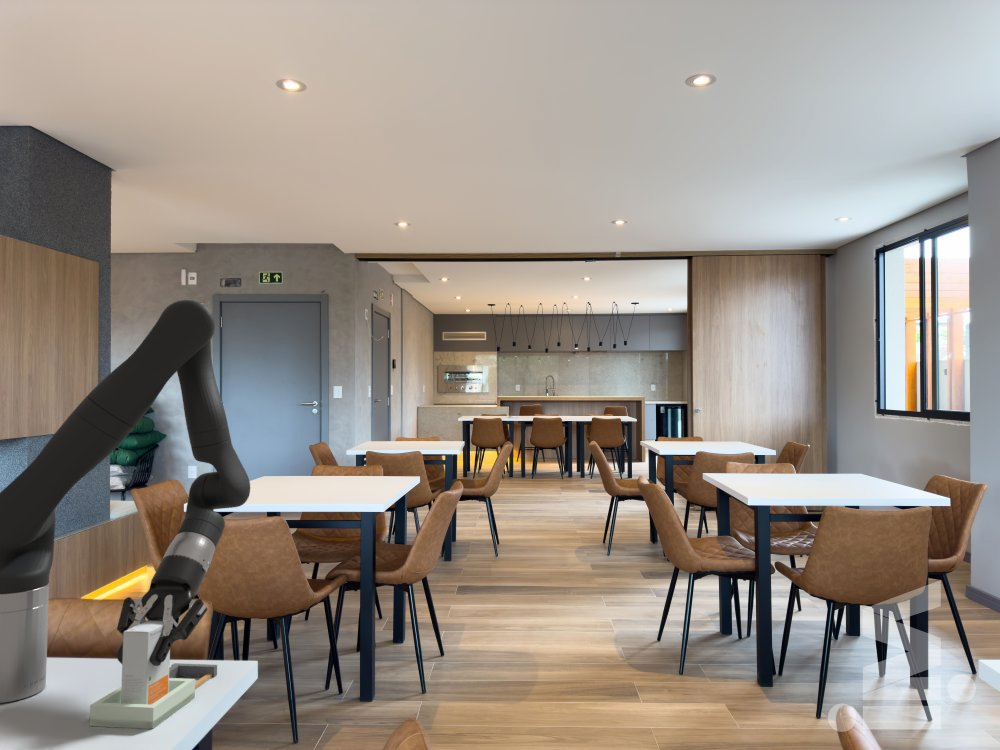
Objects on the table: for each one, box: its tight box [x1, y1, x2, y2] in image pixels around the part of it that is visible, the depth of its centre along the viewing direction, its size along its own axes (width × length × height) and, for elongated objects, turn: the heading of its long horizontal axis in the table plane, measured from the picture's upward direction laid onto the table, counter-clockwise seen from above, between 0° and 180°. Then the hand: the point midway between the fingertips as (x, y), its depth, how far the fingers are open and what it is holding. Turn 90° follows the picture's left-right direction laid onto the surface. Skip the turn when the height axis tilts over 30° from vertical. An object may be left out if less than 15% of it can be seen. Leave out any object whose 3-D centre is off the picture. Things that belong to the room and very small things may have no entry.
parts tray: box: [89, 677, 196, 730], centre depth 106 cm, size 10×11×3 cm
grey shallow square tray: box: [169, 662, 218, 690], centre depth 116 cm, size 8×9×2 cm
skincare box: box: [120, 619, 171, 705], centre depth 106 cm, size 6×4×12 cm
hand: (138, 662), depth 104 cm, fingers open, 4 cm apart
